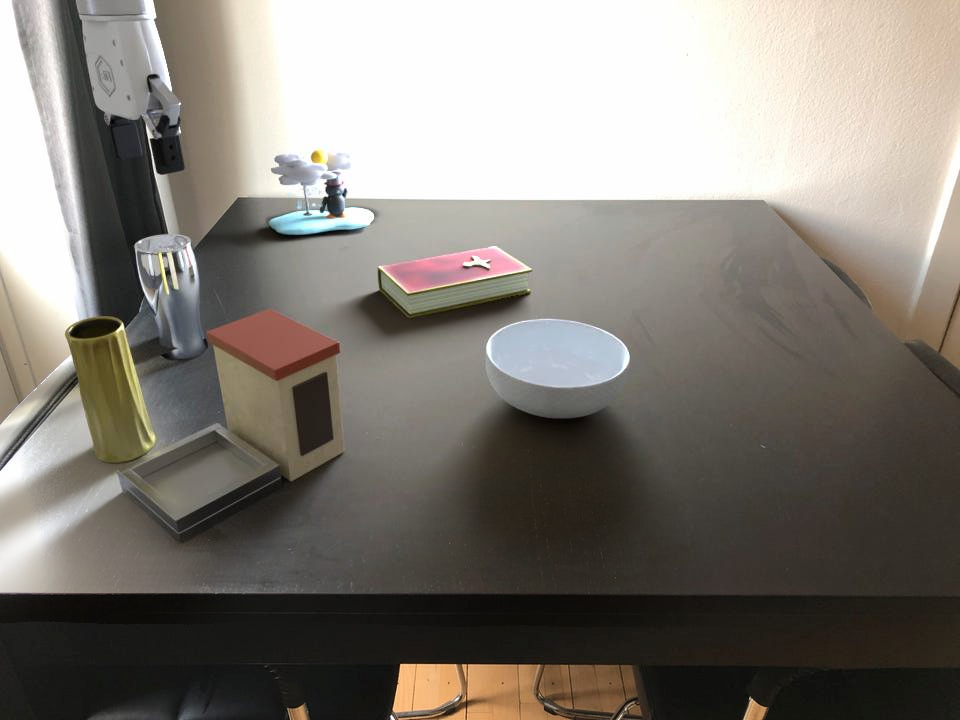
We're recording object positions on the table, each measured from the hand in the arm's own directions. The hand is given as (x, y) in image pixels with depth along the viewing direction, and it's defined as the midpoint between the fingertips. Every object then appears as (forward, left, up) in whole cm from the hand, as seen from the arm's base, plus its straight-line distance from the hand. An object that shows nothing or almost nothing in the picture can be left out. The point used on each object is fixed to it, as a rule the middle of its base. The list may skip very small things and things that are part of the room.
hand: (149, 164), depth 87 cm
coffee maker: (-10, -28, -25) cm, 39 cm away
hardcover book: (+39, -13, -25) cm, 48 cm away
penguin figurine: (+44, +26, -25) cm, 57 cm away
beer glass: (0, 0, -25) cm, 25 cm away
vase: (-16, -16, -25) cm, 33 cm away
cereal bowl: (+23, -44, -25) cm, 55 cm away
